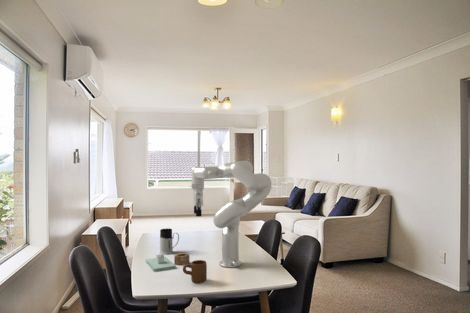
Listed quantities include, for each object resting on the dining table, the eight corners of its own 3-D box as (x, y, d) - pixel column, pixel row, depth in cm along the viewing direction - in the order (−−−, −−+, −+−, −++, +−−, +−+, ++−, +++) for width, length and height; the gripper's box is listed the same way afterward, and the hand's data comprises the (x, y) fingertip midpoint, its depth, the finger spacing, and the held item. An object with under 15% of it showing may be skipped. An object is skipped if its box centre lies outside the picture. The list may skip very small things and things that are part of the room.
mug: (184, 286, 168) (184, 266, 168) (181, 280, 175) (180, 262, 175) (208, 282, 173) (208, 263, 173) (204, 277, 180) (204, 259, 180)
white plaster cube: (164, 262, 201) (164, 255, 201) (157, 263, 199) (157, 256, 199) (162, 261, 204) (162, 254, 204) (156, 262, 202) (156, 255, 202)
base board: (175, 268, 195) (175, 265, 195) (154, 271, 190) (154, 268, 190) (165, 259, 213) (165, 256, 213) (145, 262, 208) (145, 259, 208)
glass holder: (165, 250, 234) (164, 227, 234) (182, 252, 227) (182, 229, 228) (156, 253, 226) (156, 230, 226) (174, 256, 220) (174, 232, 220)
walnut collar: (189, 262, 206) (189, 253, 206) (184, 265, 200) (184, 256, 200) (179, 261, 208) (179, 253, 208) (174, 264, 202) (174, 255, 202)
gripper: (206, 188, 207) (205, 217, 207) (201, 185, 223) (201, 212, 224) (193, 188, 205) (193, 217, 205) (190, 185, 222) (189, 212, 222)
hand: (197, 214), depth 214 cm, fingers open, 9 cm apart
